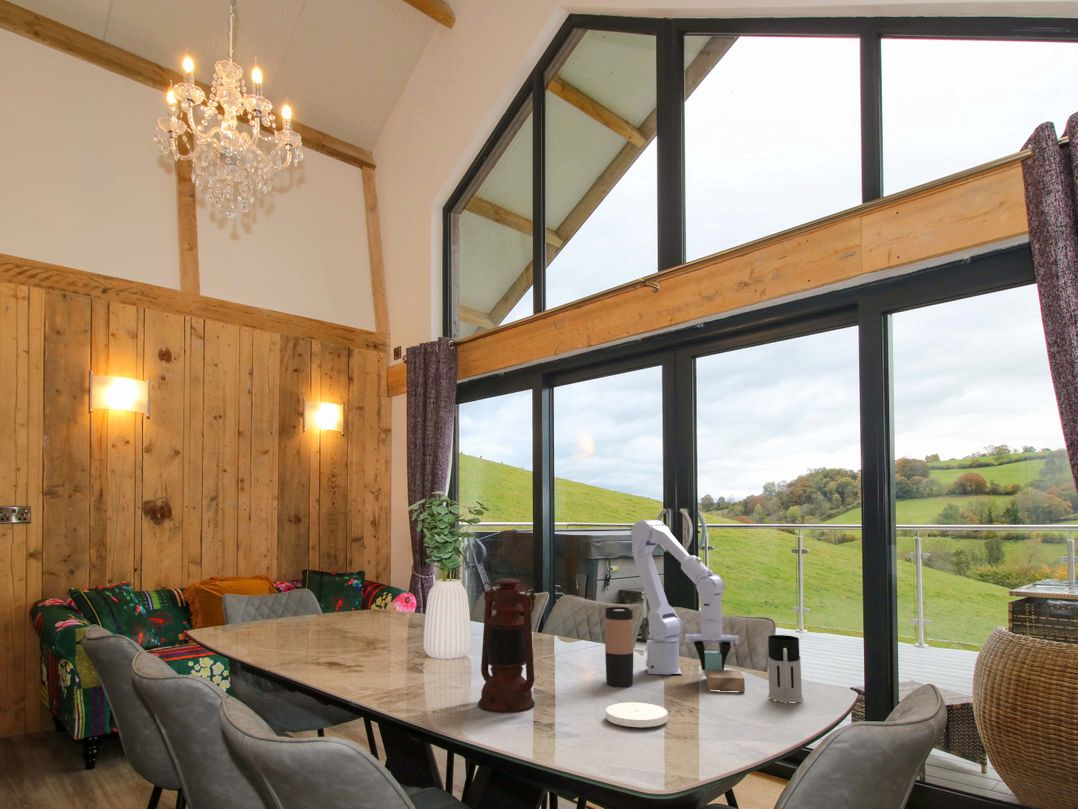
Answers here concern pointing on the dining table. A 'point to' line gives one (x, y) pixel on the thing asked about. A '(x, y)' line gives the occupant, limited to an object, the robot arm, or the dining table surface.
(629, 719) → the plastic lid
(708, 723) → the dining table surface
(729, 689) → the walnut base
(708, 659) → the teal block
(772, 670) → the glass holder
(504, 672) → the lantern
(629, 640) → the travel mug
